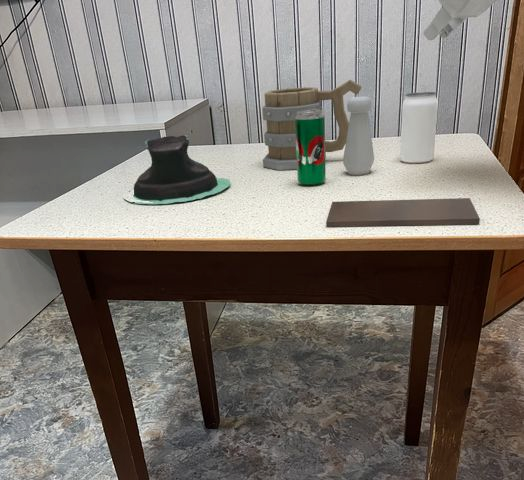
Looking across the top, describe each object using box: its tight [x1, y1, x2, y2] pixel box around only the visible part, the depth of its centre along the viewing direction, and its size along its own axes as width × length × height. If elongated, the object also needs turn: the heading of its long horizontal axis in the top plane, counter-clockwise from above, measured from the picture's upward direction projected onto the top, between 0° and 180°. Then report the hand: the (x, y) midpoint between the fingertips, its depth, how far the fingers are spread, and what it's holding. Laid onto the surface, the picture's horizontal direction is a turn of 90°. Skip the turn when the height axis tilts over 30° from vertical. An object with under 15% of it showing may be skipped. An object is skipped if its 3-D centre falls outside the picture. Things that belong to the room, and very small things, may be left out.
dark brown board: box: [325, 197, 481, 228], centre depth 76 cm, size 20×10×1 cm, turn 79°
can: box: [399, 91, 439, 164], centre depth 103 cm, size 6×6×12 cm
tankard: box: [262, 79, 363, 171], centre depth 109 cm, size 20×13×15 cm, turn 80°
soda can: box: [295, 109, 327, 187], centre depth 94 cm, size 5×5×12 cm
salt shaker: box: [342, 96, 375, 176], centre depth 98 cm, size 6×6×13 cm
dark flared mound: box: [133, 134, 231, 205], centre depth 98 cm, size 15×19×20 cm
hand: (434, 36), depth 85 cm, fingers open, 8 cm apart
